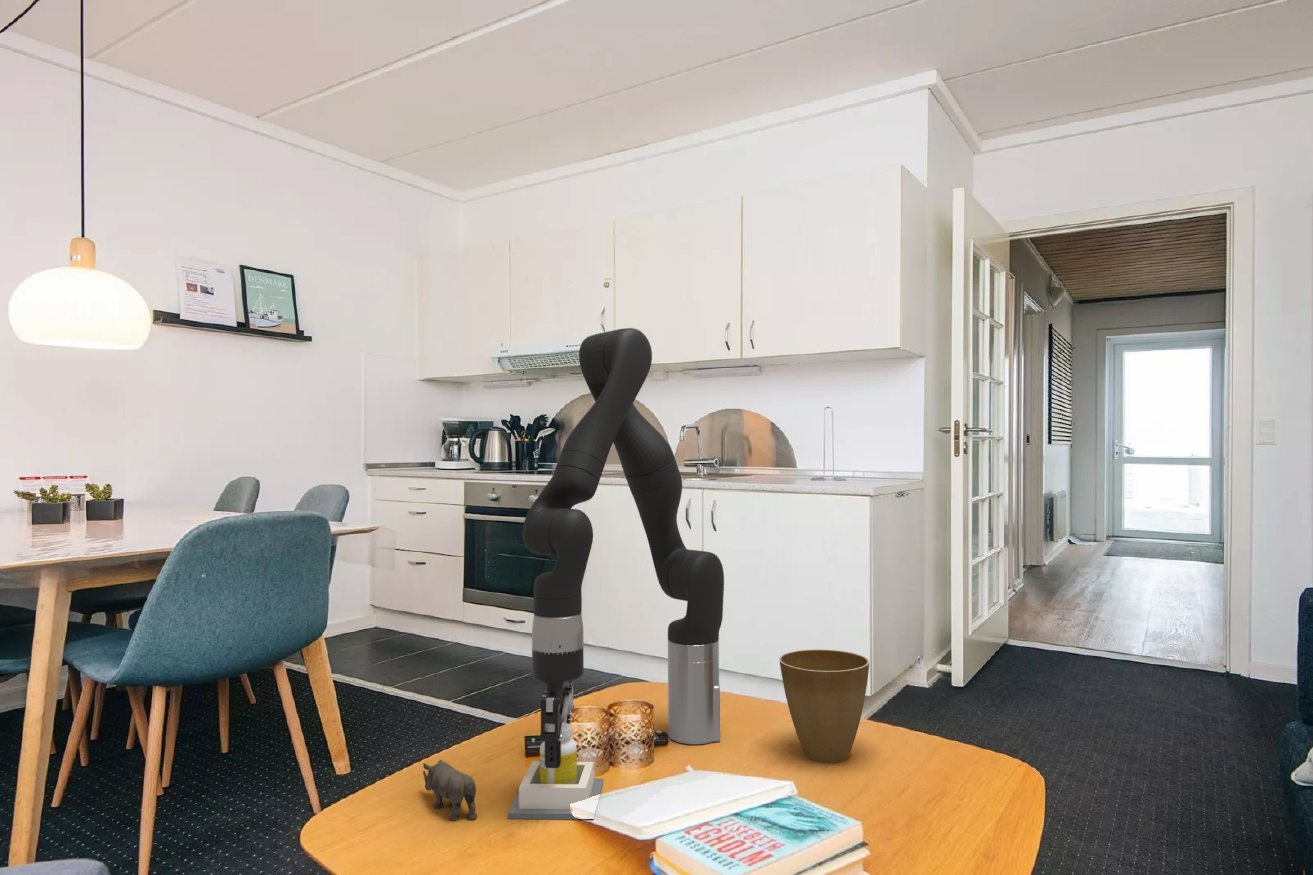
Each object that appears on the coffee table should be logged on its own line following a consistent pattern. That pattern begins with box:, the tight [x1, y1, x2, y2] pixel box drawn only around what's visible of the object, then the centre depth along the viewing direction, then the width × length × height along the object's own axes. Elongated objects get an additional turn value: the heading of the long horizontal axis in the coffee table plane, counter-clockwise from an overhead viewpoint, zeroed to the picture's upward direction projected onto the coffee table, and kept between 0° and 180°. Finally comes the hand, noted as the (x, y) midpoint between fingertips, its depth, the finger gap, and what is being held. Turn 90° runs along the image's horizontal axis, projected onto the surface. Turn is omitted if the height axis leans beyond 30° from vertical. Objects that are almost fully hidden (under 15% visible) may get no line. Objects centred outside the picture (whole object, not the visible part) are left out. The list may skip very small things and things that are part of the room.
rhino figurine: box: [422, 759, 478, 821], centre depth 112 cm, size 4×14×6 cm, turn 42°
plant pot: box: [778, 649, 870, 763], centre depth 131 cm, size 15×15×16 cm
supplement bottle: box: [539, 723, 578, 784], centre depth 114 cm, size 5×5×10 cm
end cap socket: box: [507, 760, 604, 821], centre depth 114 cm, size 12×12×4 cm
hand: (558, 755), depth 114 cm, fingers open, 8 cm apart
